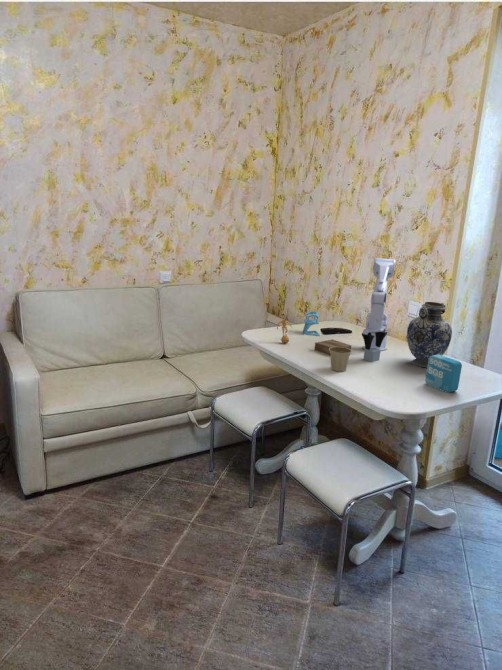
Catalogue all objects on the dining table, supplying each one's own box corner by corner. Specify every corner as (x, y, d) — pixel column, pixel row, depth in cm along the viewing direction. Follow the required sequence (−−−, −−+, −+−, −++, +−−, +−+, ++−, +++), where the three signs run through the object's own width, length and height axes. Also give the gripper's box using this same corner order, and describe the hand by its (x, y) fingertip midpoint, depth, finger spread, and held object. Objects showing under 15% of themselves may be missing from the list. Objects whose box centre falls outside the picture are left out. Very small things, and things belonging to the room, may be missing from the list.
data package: (424, 383, 192) (428, 354, 189) (432, 381, 194) (436, 353, 191) (449, 393, 182) (455, 363, 179) (457, 392, 184) (462, 362, 181)
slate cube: (370, 357, 222) (371, 347, 220) (379, 360, 218) (380, 350, 217) (363, 359, 219) (364, 348, 217) (372, 362, 215) (373, 351, 214)
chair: (301, 332, 260) (302, 310, 257) (316, 332, 261) (317, 310, 258) (304, 335, 253) (305, 313, 250) (319, 336, 254) (321, 313, 251)
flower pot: (322, 366, 205) (324, 347, 203) (341, 364, 209) (343, 345, 206) (334, 374, 197) (336, 353, 194) (353, 372, 200) (356, 352, 198)
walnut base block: (331, 347, 236) (332, 339, 235) (350, 353, 227) (351, 345, 226) (314, 350, 229) (315, 342, 228) (333, 357, 220) (334, 349, 219)
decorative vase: (416, 354, 229) (425, 297, 222) (454, 365, 217) (465, 304, 209) (393, 363, 215) (402, 301, 207) (432, 375, 202) (444, 310, 195)
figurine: (278, 345, 233) (280, 321, 230) (273, 341, 238) (275, 318, 235) (294, 344, 236) (296, 320, 233) (289, 340, 241) (290, 317, 238)
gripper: (373, 322, 206) (370, 352, 209) (393, 318, 215) (389, 347, 218) (360, 318, 211) (357, 348, 214) (380, 315, 220) (376, 344, 223)
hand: (372, 347), depth 217 cm, fingers open, 7 cm apart
